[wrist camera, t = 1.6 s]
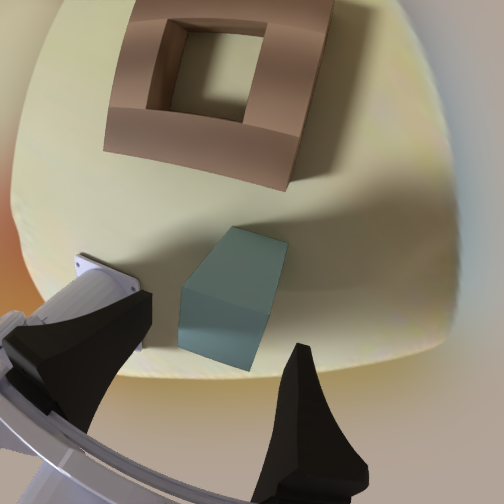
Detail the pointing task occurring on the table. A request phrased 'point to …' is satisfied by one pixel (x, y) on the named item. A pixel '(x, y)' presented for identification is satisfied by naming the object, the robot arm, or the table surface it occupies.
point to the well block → (212, 128)
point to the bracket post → (231, 298)
